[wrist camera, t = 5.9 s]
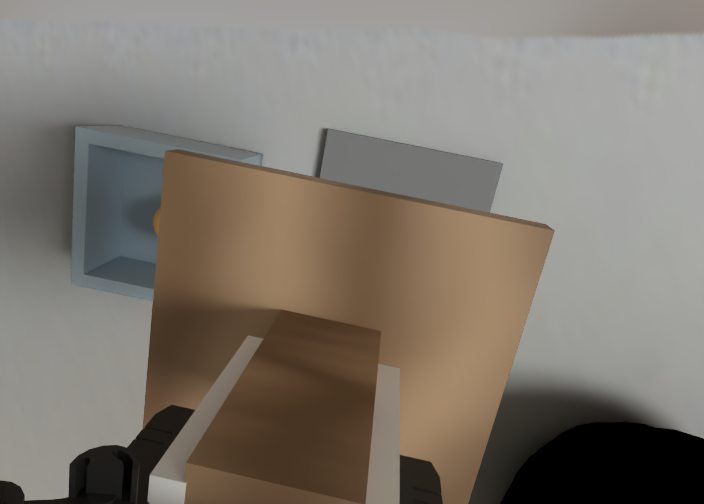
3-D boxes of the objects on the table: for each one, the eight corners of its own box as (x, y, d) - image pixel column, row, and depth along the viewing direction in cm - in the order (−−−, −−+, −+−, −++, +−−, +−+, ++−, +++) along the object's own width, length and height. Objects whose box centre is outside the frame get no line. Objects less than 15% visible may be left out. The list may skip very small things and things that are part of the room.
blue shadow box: (113, 261, 43) (70, 283, 37) (120, 125, 40) (75, 126, 34) (244, 289, 43) (221, 315, 37) (262, 154, 40) (241, 159, 34)
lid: (151, 454, 21) (-28, 696, 12) (178, 149, 17) (-51, 179, 8) (452, 524, 20) (491, 830, 11) (545, 224, 16) (704, 339, 8)
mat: (301, 290, 43) (299, 292, 42) (328, 128, 39) (327, 129, 38) (457, 322, 42) (458, 325, 42) (501, 163, 38) (503, 163, 38)
